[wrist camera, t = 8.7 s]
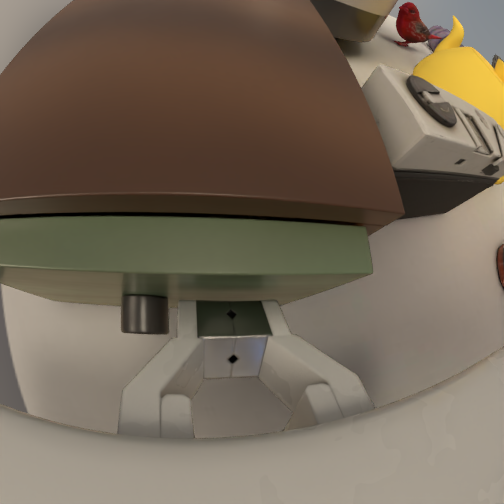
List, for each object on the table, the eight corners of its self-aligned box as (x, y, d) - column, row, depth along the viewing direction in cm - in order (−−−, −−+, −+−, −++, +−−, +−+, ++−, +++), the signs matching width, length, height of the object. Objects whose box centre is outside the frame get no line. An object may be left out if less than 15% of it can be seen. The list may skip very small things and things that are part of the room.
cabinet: (281, 285, 15) (406, 214, 6) (54, 280, 12) (-68, 209, 3) (264, 95, 19) (304, -8, 10) (105, 91, 16) (89, -13, 7)
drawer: (278, 330, 13) (379, 323, 6) (54, 324, 10) (-56, 305, 3) (261, 104, 17) (296, 13, 10) (101, 101, 15) (84, 9, 7)
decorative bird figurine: (373, 33, 30) (398, -6, 21) (423, 51, 36) (445, 23, 26) (383, 42, 30) (410, 3, 21) (432, 60, 35) (455, 32, 26)
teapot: (375, 44, 28) (415, -15, 16) (447, 84, 32) (486, 43, 19) (445, 179, 21) (538, 109, 9) (506, 205, 25) (569, 166, 12)
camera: (410, 140, 22) (472, 79, 12) (444, 216, 20) (527, 167, 10) (282, 128, 18) (340, 12, 9) (318, 235, 16) (439, 134, 7)
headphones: (439, 65, 34) (484, 117, 40) (464, 46, 26) (506, 103, 32) (415, 31, 40) (460, 76, 46) (433, 15, 32) (477, 63, 38)
